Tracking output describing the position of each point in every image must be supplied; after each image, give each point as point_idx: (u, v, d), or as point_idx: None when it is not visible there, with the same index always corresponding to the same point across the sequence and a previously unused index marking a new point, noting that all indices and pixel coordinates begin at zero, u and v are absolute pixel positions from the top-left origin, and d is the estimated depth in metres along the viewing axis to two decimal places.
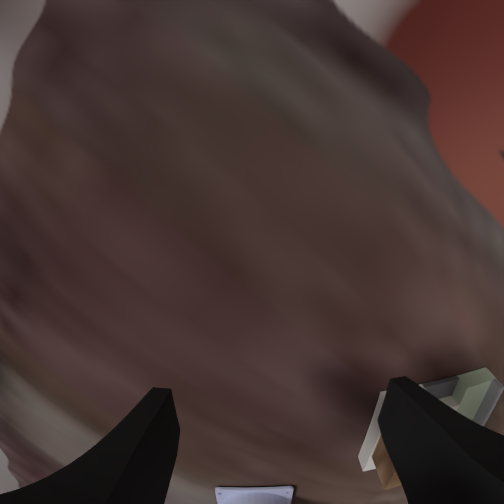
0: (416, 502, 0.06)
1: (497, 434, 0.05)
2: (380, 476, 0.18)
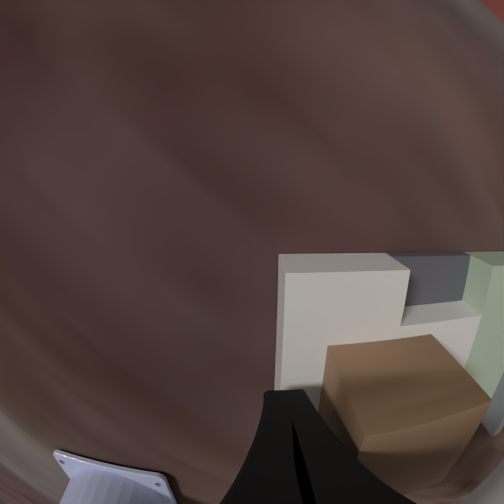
0: None
1: (373, 478, 0.04)
2: None
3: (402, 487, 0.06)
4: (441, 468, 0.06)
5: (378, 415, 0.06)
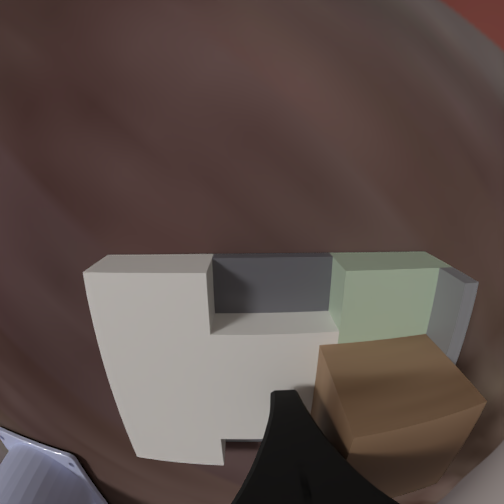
0: None
1: (362, 480, 0.04)
2: None
3: (395, 489, 0.06)
4: (435, 470, 0.06)
5: (368, 416, 0.06)
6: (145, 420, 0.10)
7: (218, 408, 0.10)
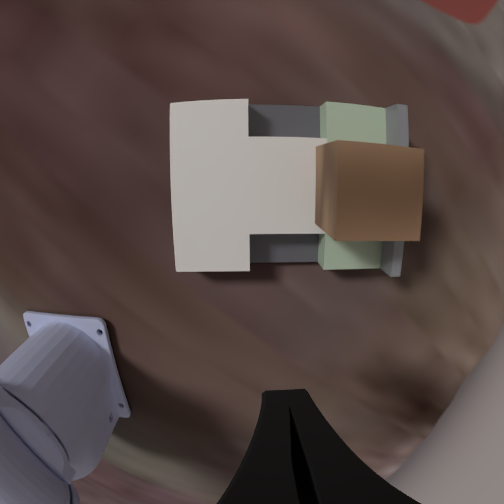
0: None
1: (376, 477, 0.04)
2: (327, 227, 0.13)
3: (384, 225, 0.12)
4: (411, 214, 0.12)
5: None
6: (192, 220, 0.16)
7: (249, 199, 0.16)
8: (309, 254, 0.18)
